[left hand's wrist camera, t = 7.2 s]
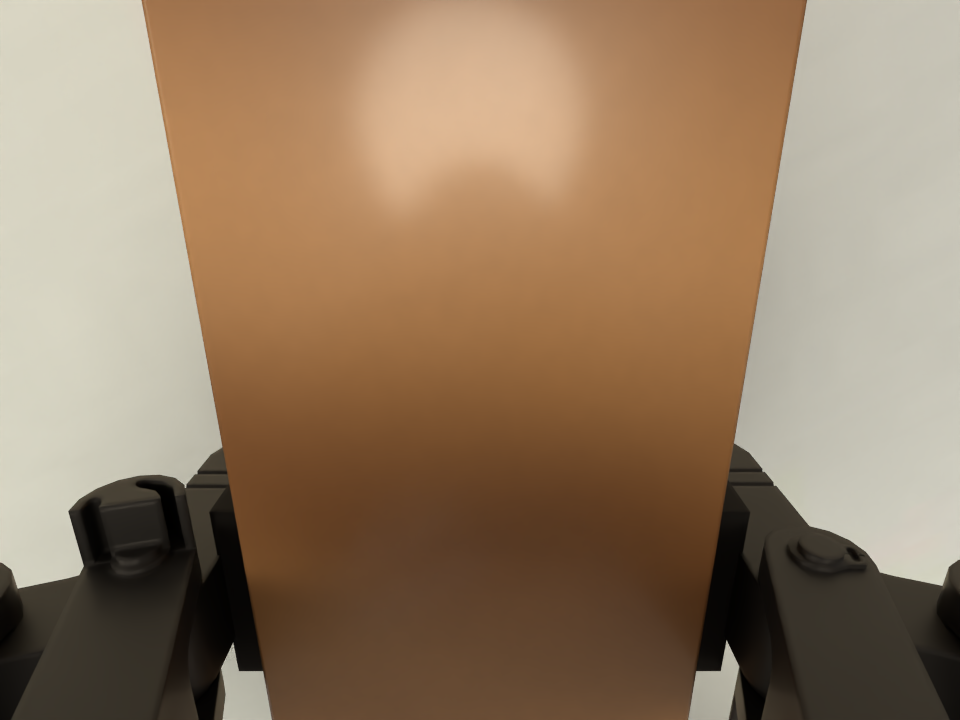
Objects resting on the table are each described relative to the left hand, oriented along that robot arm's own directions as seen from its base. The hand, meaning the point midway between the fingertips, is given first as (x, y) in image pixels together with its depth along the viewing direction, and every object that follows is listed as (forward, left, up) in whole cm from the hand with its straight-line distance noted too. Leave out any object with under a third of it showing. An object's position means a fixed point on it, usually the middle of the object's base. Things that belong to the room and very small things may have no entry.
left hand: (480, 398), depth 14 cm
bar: (+29, +13, -1) cm, 32 cm away
